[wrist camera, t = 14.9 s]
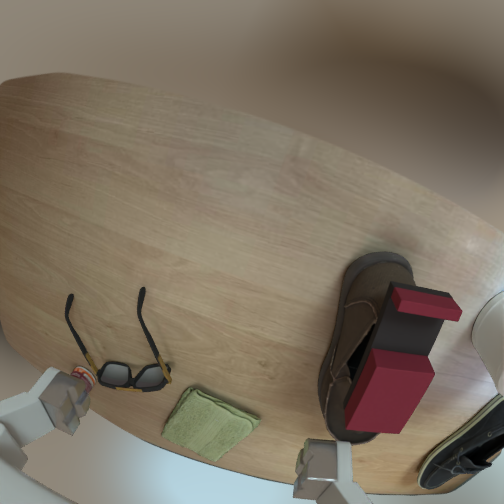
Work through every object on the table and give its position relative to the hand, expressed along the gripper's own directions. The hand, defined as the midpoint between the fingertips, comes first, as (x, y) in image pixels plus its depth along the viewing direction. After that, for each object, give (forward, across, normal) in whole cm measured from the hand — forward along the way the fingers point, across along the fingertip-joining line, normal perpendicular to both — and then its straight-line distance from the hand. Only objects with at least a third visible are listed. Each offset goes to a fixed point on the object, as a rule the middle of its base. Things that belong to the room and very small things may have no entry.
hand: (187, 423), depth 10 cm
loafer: (+26, -15, +17) cm, 35 cm away
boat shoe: (+26, -46, +36) cm, 64 cm away
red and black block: (+16, -14, +9) cm, 24 cm away
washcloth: (+26, +4, +39) cm, 47 cm away
